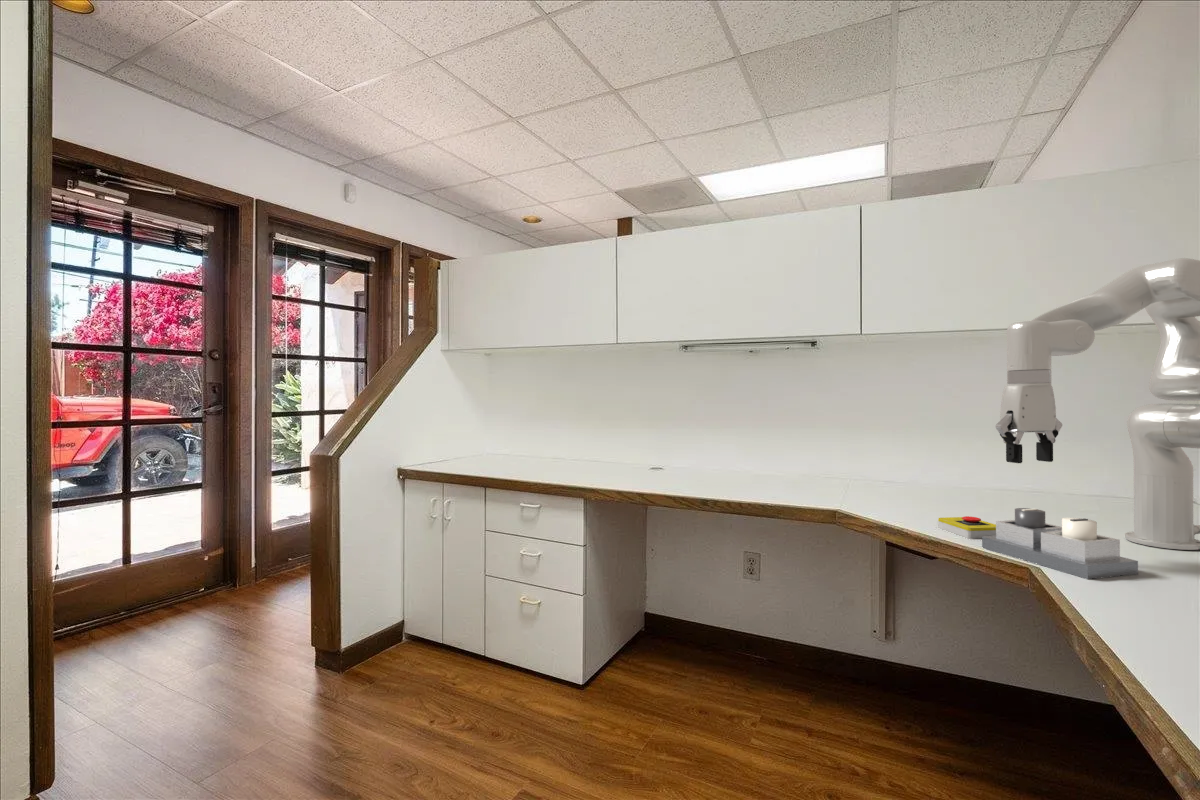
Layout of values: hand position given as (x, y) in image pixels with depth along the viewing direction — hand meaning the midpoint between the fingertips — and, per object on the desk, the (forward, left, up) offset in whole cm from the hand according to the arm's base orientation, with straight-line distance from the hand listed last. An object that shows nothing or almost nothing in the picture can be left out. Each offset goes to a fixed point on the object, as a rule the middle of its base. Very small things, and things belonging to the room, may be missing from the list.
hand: (1029, 461), depth 119 cm
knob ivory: (0, +10, -17) cm, 19 cm away
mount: (0, +5, -20) cm, 20 cm away
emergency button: (-3, -18, -21) cm, 28 cm away
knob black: (0, 0, -17) cm, 17 cm away
